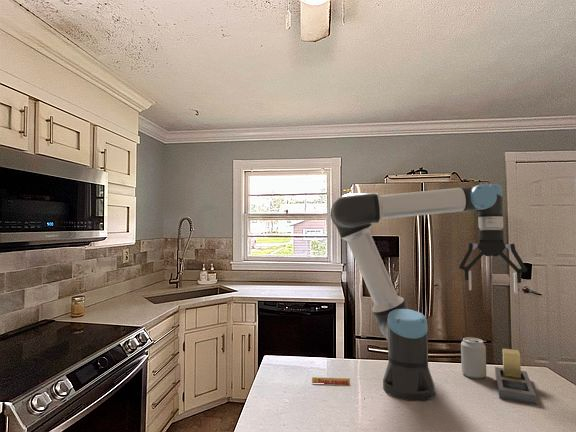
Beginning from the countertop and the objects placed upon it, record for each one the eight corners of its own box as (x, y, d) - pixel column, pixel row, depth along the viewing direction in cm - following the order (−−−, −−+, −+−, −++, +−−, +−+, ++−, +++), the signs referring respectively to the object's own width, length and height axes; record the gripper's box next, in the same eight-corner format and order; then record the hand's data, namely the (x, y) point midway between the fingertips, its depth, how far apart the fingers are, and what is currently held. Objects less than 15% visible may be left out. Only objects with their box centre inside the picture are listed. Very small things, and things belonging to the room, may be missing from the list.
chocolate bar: (350, 387, 114) (350, 380, 114) (312, 386, 115) (312, 378, 115) (349, 384, 117) (349, 376, 117) (312, 382, 118) (312, 375, 118)
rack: (499, 398, 105) (498, 389, 105) (495, 374, 123) (495, 367, 123) (536, 404, 101) (536, 395, 101) (526, 379, 119) (526, 371, 119)
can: (489, 380, 118) (488, 343, 119) (465, 378, 119) (464, 342, 120) (482, 372, 125) (481, 336, 126) (459, 370, 127) (458, 335, 127)
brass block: (504, 384, 115) (503, 352, 116) (503, 379, 119) (502, 348, 120) (521, 387, 113) (520, 354, 113) (519, 381, 117) (518, 350, 117)
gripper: (450, 229, 128) (451, 289, 126) (535, 228, 116) (537, 295, 115) (452, 229, 134) (453, 287, 133) (532, 229, 122) (534, 292, 121)
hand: (492, 291), depth 124 cm, fingers open, 13 cm apart
